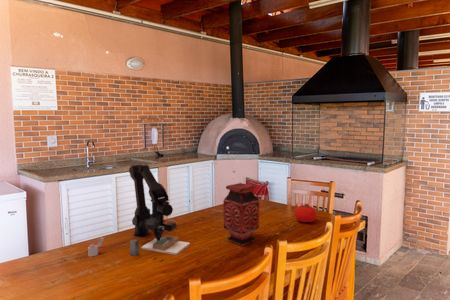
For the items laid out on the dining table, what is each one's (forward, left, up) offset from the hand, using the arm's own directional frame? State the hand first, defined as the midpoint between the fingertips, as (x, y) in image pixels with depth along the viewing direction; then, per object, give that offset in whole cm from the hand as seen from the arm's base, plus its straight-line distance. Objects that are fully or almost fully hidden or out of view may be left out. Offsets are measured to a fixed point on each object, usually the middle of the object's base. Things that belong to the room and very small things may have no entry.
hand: (158, 240), depth 175 cm
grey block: (-4, -14, -2) cm, 15 cm away
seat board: (+5, 0, -2) cm, 5 cm away
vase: (+38, +22, -3) cm, 44 cm away
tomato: (+65, +68, -3) cm, 94 cm away
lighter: (-21, -21, -3) cm, 30 cm away
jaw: (+2, 0, -1) cm, 2 cm away
